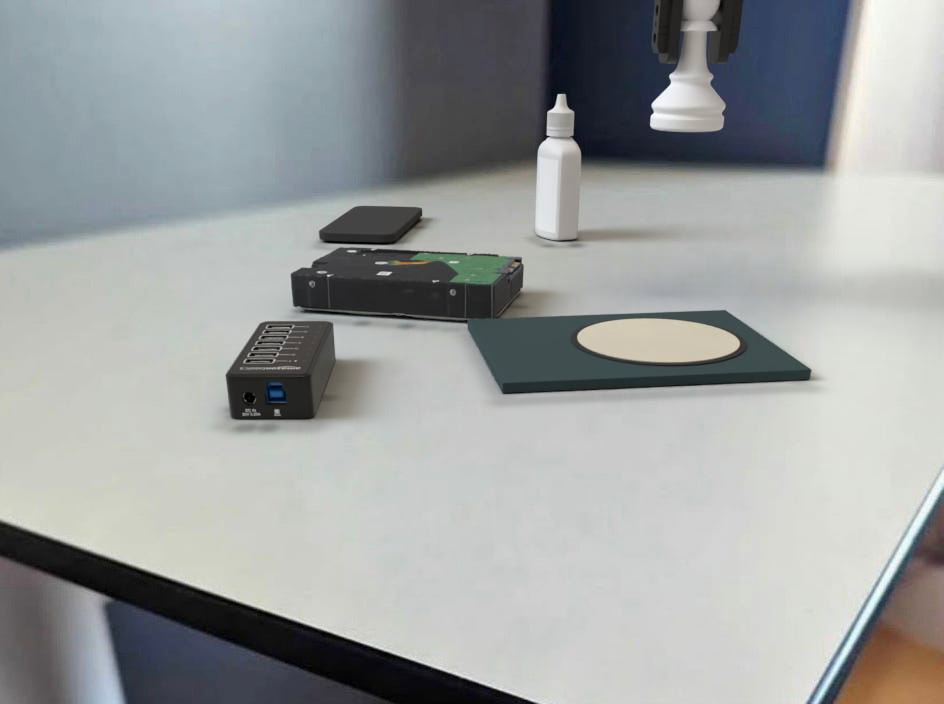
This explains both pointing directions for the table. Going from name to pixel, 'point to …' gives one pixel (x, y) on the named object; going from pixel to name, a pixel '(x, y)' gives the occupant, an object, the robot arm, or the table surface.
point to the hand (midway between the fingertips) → (693, 61)
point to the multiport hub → (282, 370)
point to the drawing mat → (628, 351)
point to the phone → (371, 224)
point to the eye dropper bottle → (558, 177)
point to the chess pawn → (691, 78)
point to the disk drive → (409, 283)
